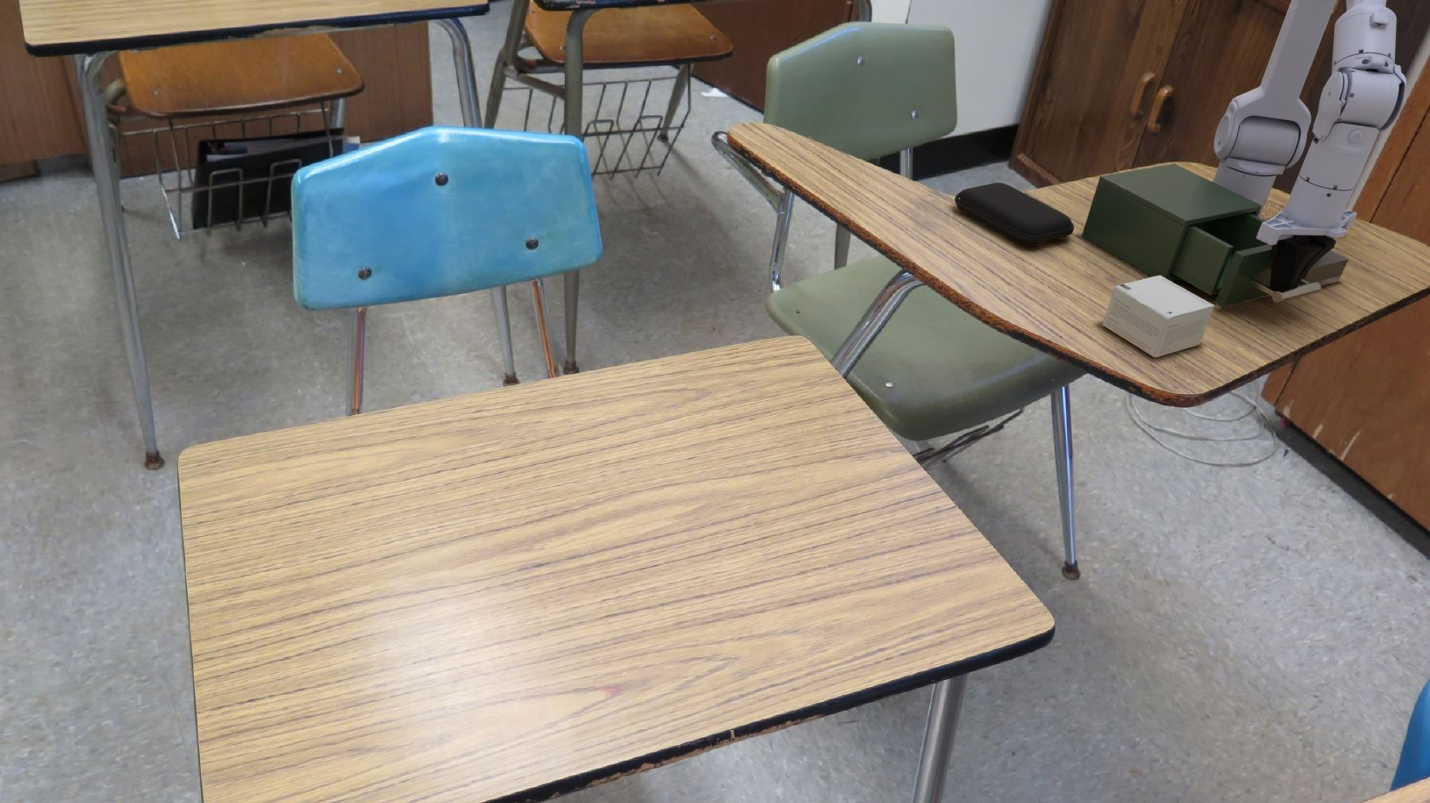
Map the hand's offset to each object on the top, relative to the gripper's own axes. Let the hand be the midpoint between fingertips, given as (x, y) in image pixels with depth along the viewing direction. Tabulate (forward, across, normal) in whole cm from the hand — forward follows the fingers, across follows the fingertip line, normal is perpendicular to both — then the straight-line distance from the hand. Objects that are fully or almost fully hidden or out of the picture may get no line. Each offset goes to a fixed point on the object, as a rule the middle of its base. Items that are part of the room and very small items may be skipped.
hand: (1279, 290), depth 126 cm
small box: (+3, -19, +2) cm, 19 cm away
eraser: (+3, +13, +4) cm, 14 cm away
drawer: (+2, 0, +6) cm, 7 cm away
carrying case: (+3, -13, +30) cm, 33 cm away
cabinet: (+3, 0, +17) cm, 17 cm away
